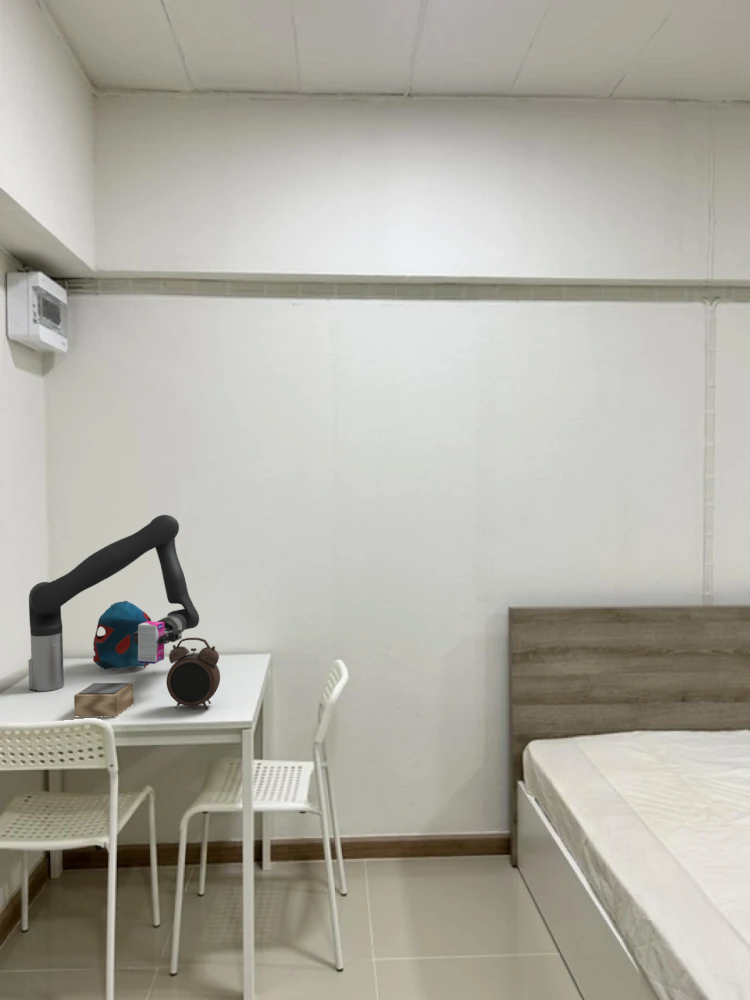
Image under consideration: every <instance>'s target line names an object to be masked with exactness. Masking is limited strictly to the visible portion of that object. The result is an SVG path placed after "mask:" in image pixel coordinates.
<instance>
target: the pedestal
mask: <svg viewBox="0 0 750 1000" xmlns="http://www.w3.org/2000/svg"><path fill="white" fill-rule="evenodd" d="M134 698H135V697H134V683H133V682H132V683H129V682H93V683H91V684H90V685H88V686H86V687H85V688H84V689H82V690H81V691H79V692H77V693H76V694H74V695H73V699H74V700H73V703H74V704H73V705H74V709H73V710H74V717H75V716H99V717H98V718H101V717H100V716H103V717H102V718H105V717H104V716H118V715H119V714H121V713H122V712H123V711H124V710H126V709H127V708H128V707H129V708H130V707H132V706H133V705H134V704H135V701H134V700H135V699H134ZM133 703H134V704H133ZM132 704H133V705H132ZM131 705H132V706H131ZM129 708H128V709H129ZM128 709H127V710H128ZM127 710H126V711H127ZM124 712H125V711H124ZM124 712H123V713H124ZM123 713H122V714H123ZM122 714H121V715H122ZM119 716H120V715H119ZM119 716H118V717H119Z"/></svg>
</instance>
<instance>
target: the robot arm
mask: <svg viewBox="0 0 750 1000" xmlns="http://www.w3.org/2000/svg"><path fill="white" fill-rule="evenodd" d="M179 530H180V525H179V522H178V520H177V518H175V517H174V516H172V515H169V514H160V515H158V516H156V517H154V518H153V519H152V520H151V521H150V522H149V523H148V524H146V525H145V526H144V527H142V528H141V529H139V530H138V531H136V532H134V533H133V534H131V535H128V536H125V537H123V538H121V539H119V540H116V541H114V542H112V543H109V544H107V545H106V546H104V547H102V548H100V549H99V550H97V551H95V552H94V553H92V554H91V555H89V556H88V557H86V558H85V559H84V560H82V561H81V562H80V563H79V564H77V566H75V567H74V568H73V569H72V570H70V571H69V572H68V573H66V574H65V575H62V576H60V577H58V578H56V579H54V580H51V581H42V582H38V583H36V584H35V585H34V586H33V587H32V588H31V590H30V591H29V594H28V611H29V613H28V614H29V616H28V617H29V630H30V654H31V655H30V656H31V657H30V658H29V659H28V661H27V662H28V690H29V689H33V690H32V691H34V690H37V691H36V692H48V691H54V690H59V689H61V688H63V687H64V686H65V683H64V681H65V677H64V674H65V673H64V645H63V643H64V641H63V640H64V639H63V635H64V634H63V621H62V609H61V608H62V606H63V605H65V604H66V603H68V602H69V601H70V600H72V599H73V598H75V597H76V596H78V595H79V594H80V593H82V592H84V591H85V590H88V589H90V588H92V587H94V586H95V585H98V584H99V583H101V582H103V581H104V580H108V579H109V578H111V577H112V576H114V575H115V574H117V573H118V572H119V573H120V572H121V571H122V570H124V569H126V567H128V566H129V565H131V564H132V563H133V562H135V561H136V560H138V559H139V558H140V557H141V556H143V555H144V554H146V553H147V552H149V551H151V550H153V549H155V551H156V554H157V559H158V560H159V565H160V569H161V574H162V580H163V584H164V588H165V589H164V590H165V593H166V598H167V601H168V603H169V604H172V605H173V604H174V605H181V606H182V608H181V609H176V610H173V611H169V612H168V613H167V615H166V616H165V617H163V618H161V619H159V620H157V621H156V622H164V635H162V636H160V637H159V645H162V644H163V643H164V645H167V644H169V643H175V642H177V641H180V640H182V638H183V637H182V636H183V634H182V633H183V632H184V631H185V630H189V629H190V630H191V629H194V628H197V626H199V623H200V615H199V612H198V610H197V609H196V607H195V604H194V603H193V601H192V599H191V597H190V595H189V591H188V586H187V581H186V577H185V574H184V571H183V567H182V566H181V564H180V559H179V557H178V554H177V553H178V552H177V550H176V549H177V548H176V537H177V535H178V534H179ZM134 642H135V643H136V644H138V630H137V631H136V632H135V633H134Z"/></svg>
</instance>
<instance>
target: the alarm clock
mask: <svg viewBox="0 0 750 1000" xmlns="http://www.w3.org/2000/svg"><path fill="white" fill-rule="evenodd" d="M185 641H199V642H203V644H205V647H204V648H202V649H201V650H200V651H199V652H196V651H197V650H198V649H197V648H195V647H194V648H190V650H189V649H188V648H187V647H185V646H184V645H183V646H180V645H181V644H182V642H185ZM169 651H170V652H169V655H168V659H169V663H170V664H173V665H172V666H171V667H170V668H169V670H168V672H167V676H166V688H167V691H168V693H169V695H170V697H171V698H172V699H173V700H174V701H175V702H176V703H177V704H176V706H175V708H174V709H175V710H177V709H178V708H179V707H180V705H182V706H184V707H191V708H193V707H197V706H200V705H203V706H204V708H205V710H206V709H208V710H209V707H208V706H207V703H206V702H208V704H209V705H210V704H212V701H210V699H211V698H212V697H213V696H214V695H215V693H216V692H217V690H218V688H219V686H220V682H221V672H220V669H219V667H218V665H217V664H218V662H219V659H220V655H219V653H218V651H217V650H216V646H215V645H213V646H210V644H209V643H208V642H207V640H206V639H204V638H200V637H185V638H183V639H182V638H181V639H180V640H179V641H178V643H177V645H175V644H173V645H172V649H171V650H169ZM190 651H191V652H192V653H190Z"/></svg>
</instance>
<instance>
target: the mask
mask: <svg viewBox="0 0 750 1000" xmlns="http://www.w3.org/2000/svg"><path fill="white" fill-rule="evenodd" d="M147 621H152V619H151V617H150V616H149V615H148V614H147V613H146V612H145V611H143V610H142V609H141V608H140V607H138V606H137V605H135V604H134V603H131V602H129V601H128V600H123V601H119V602H115V603H113V604H110V606H109V607H108V608H107V609H106V610H105V611H104V613H102V614H101V615H100V617H99V618H98V621H97V625H96V631H95V635H94V638H93V644H92V645H93V651H94V655H93V659H92V660H93V662H94V663H95V664H96V665H97V666H98V667H100V668H101V669H103V668H104V669H103V670H109V669H112V670H114V671H115V669H117V670H120V669H127V668H133V667H143V669H144V668H145V669H146V667H147V664H148V663H138V644H136V643H135V642H134V633H135V632H136V631H137V630H138V625H139V624H141V623H144V622H147ZM100 627H101V628H103V629H104V631H105V633H104V634H103V635H98V630H99V629H100Z"/></svg>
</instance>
